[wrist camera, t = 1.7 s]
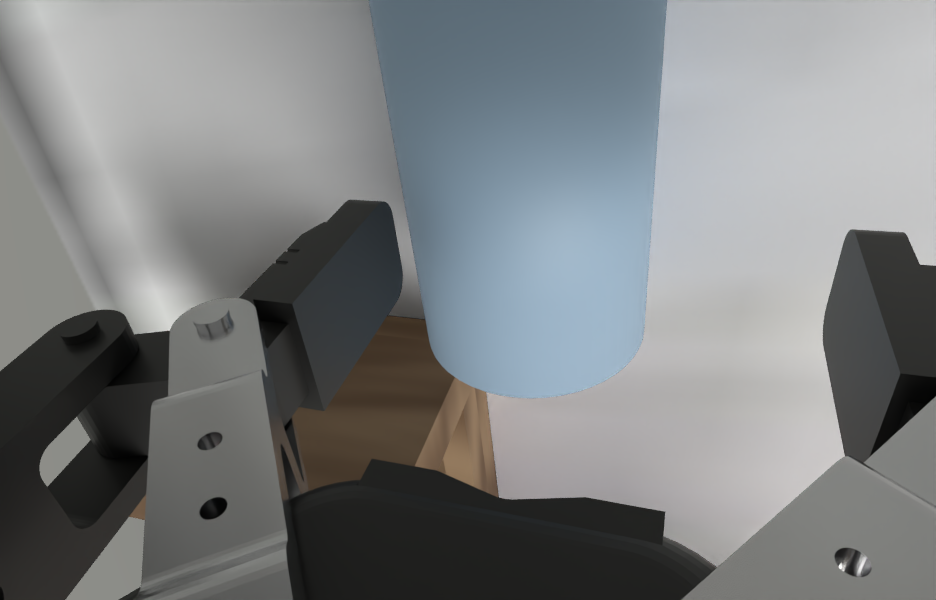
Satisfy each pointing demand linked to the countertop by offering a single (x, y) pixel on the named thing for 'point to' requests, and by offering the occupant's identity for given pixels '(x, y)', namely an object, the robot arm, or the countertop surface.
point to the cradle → (397, 416)
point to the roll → (527, 180)
